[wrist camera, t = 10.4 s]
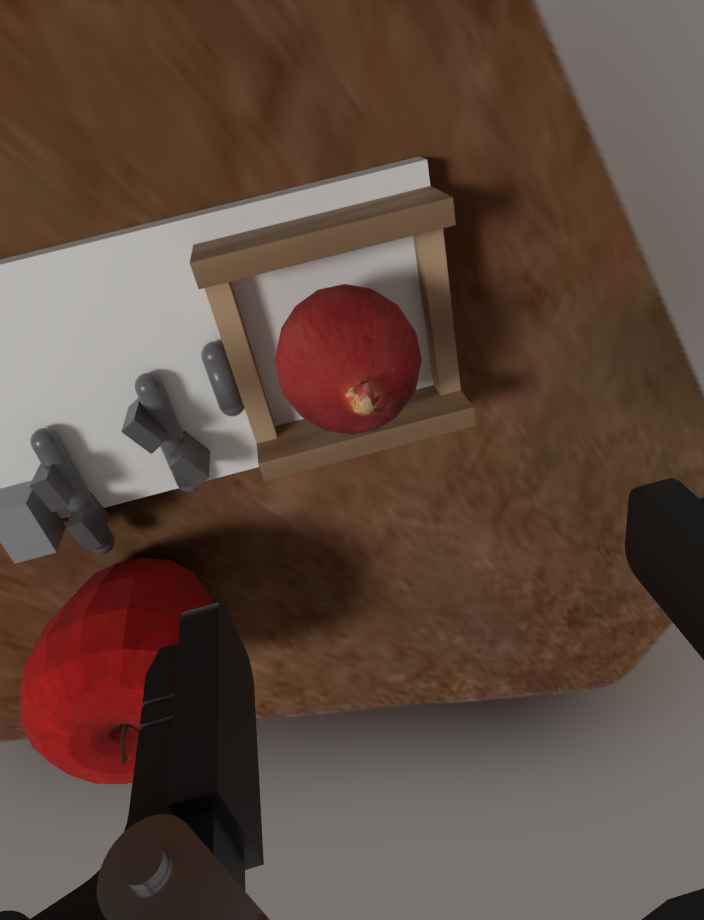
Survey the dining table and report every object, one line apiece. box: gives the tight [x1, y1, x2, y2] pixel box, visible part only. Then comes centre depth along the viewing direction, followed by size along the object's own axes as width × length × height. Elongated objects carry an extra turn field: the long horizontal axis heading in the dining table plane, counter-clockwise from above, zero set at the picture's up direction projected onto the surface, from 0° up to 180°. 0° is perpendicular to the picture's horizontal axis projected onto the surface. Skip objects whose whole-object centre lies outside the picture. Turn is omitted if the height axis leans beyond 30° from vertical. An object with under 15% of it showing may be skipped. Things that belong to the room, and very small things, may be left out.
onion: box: [274, 284, 422, 435], centre depth 24 cm, size 6×6×8 cm
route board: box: [0, 157, 433, 563], centre depth 27 cm, size 14×24×4 cm, turn 101°
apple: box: [21, 558, 213, 784], centre depth 31 cm, size 10×10×11 cm
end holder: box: [190, 186, 476, 482], centre depth 26 cm, size 10×10×3 cm
